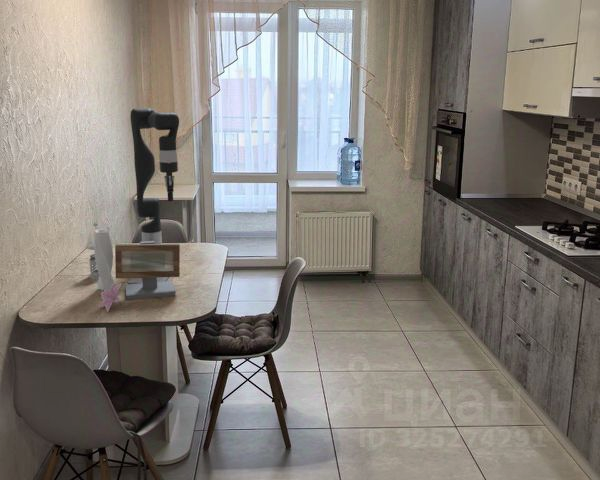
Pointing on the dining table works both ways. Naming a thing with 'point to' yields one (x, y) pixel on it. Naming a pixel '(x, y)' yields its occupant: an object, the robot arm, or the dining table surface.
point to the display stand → (149, 286)
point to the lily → (110, 296)
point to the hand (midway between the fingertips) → (170, 200)
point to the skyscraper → (104, 258)
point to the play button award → (139, 280)
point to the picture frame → (147, 260)
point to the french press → (93, 262)
